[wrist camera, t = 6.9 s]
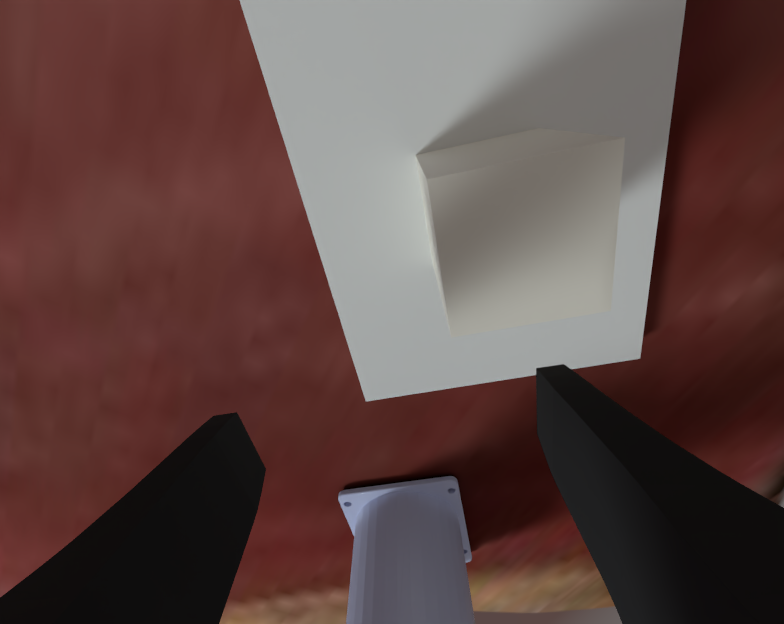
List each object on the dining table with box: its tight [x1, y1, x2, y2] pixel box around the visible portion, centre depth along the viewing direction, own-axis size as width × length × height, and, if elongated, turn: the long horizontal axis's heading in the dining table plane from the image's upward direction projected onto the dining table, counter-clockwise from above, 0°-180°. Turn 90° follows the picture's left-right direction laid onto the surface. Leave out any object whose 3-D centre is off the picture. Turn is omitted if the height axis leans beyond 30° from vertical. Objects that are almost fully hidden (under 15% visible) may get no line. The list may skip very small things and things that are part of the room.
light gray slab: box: [240, 0, 686, 401], centre depth 14 cm, size 18×14×6 cm
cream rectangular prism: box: [415, 128, 625, 338], centre depth 12 cm, size 5×5×6 cm
